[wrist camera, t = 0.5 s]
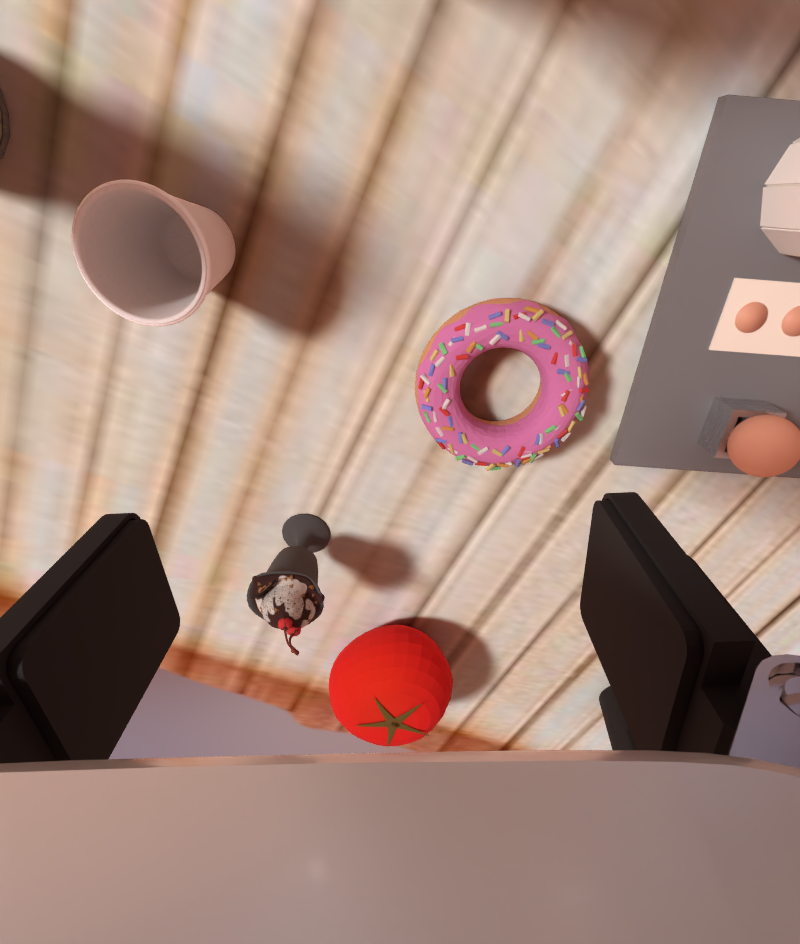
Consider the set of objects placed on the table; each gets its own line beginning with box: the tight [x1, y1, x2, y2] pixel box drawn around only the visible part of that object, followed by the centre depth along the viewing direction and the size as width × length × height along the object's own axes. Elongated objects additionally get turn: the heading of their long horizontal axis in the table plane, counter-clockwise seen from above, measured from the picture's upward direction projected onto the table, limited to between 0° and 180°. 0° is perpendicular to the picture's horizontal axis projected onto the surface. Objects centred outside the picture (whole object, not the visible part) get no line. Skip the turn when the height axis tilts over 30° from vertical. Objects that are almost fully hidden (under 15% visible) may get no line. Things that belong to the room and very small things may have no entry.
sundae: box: [247, 514, 330, 655], centre depth 46 cm, size 7×7×15 cm
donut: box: [415, 298, 590, 471], centre depth 43 cm, size 14×14×5 cm
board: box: [610, 95, 800, 478], centre depth 41 cm, size 28×18×2 cm, turn 176°
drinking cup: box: [599, 686, 638, 750], centre depth 55 cm, size 8×8×20 cm
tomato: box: [329, 625, 453, 746], centre depth 56 cm, size 14×13×10 cm
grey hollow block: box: [697, 397, 787, 459], centre depth 44 cm, size 4×4×3 cm
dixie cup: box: [72, 180, 236, 326], centre depth 35 cm, size 8×8×10 cm
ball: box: [727, 415, 800, 477], centre depth 41 cm, size 5×5×5 cm
